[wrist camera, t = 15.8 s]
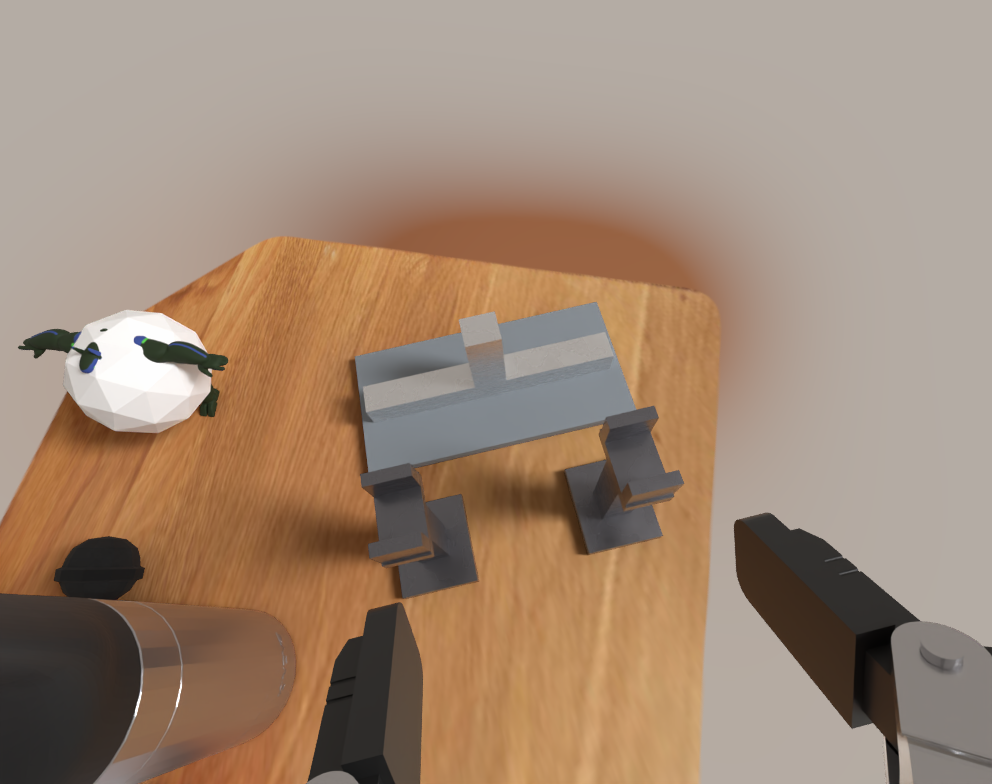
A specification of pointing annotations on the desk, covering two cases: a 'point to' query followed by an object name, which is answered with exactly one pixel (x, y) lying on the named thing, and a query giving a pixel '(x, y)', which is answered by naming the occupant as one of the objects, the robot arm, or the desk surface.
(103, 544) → the microphone
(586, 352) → the rail
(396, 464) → the mat
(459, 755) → the desk surface
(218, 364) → the figurine
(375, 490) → the hook stand
